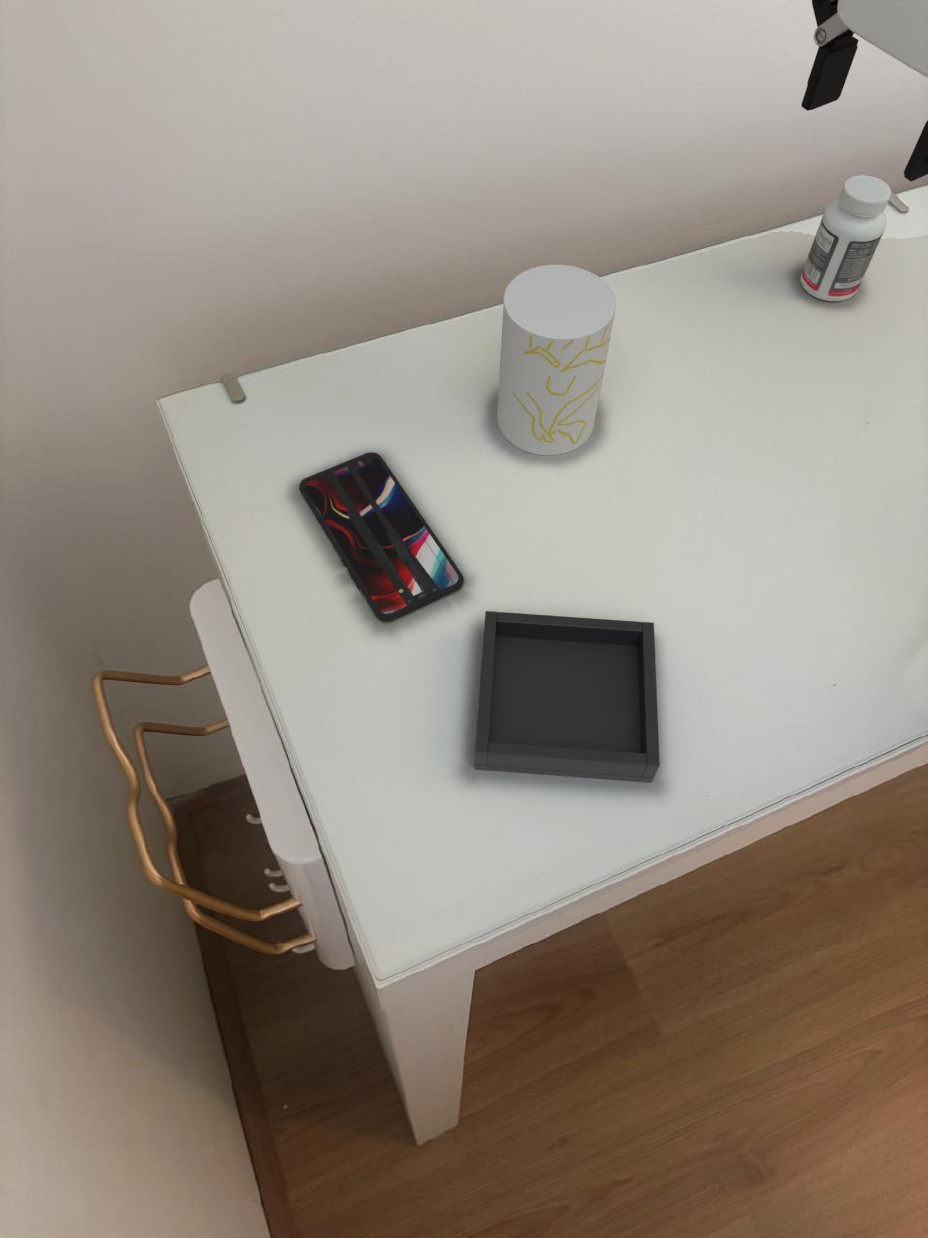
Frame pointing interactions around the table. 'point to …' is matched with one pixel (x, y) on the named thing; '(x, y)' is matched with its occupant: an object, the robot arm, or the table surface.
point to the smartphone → (380, 536)
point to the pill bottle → (846, 239)
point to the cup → (553, 357)
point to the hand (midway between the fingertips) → (868, 137)
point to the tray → (568, 697)
